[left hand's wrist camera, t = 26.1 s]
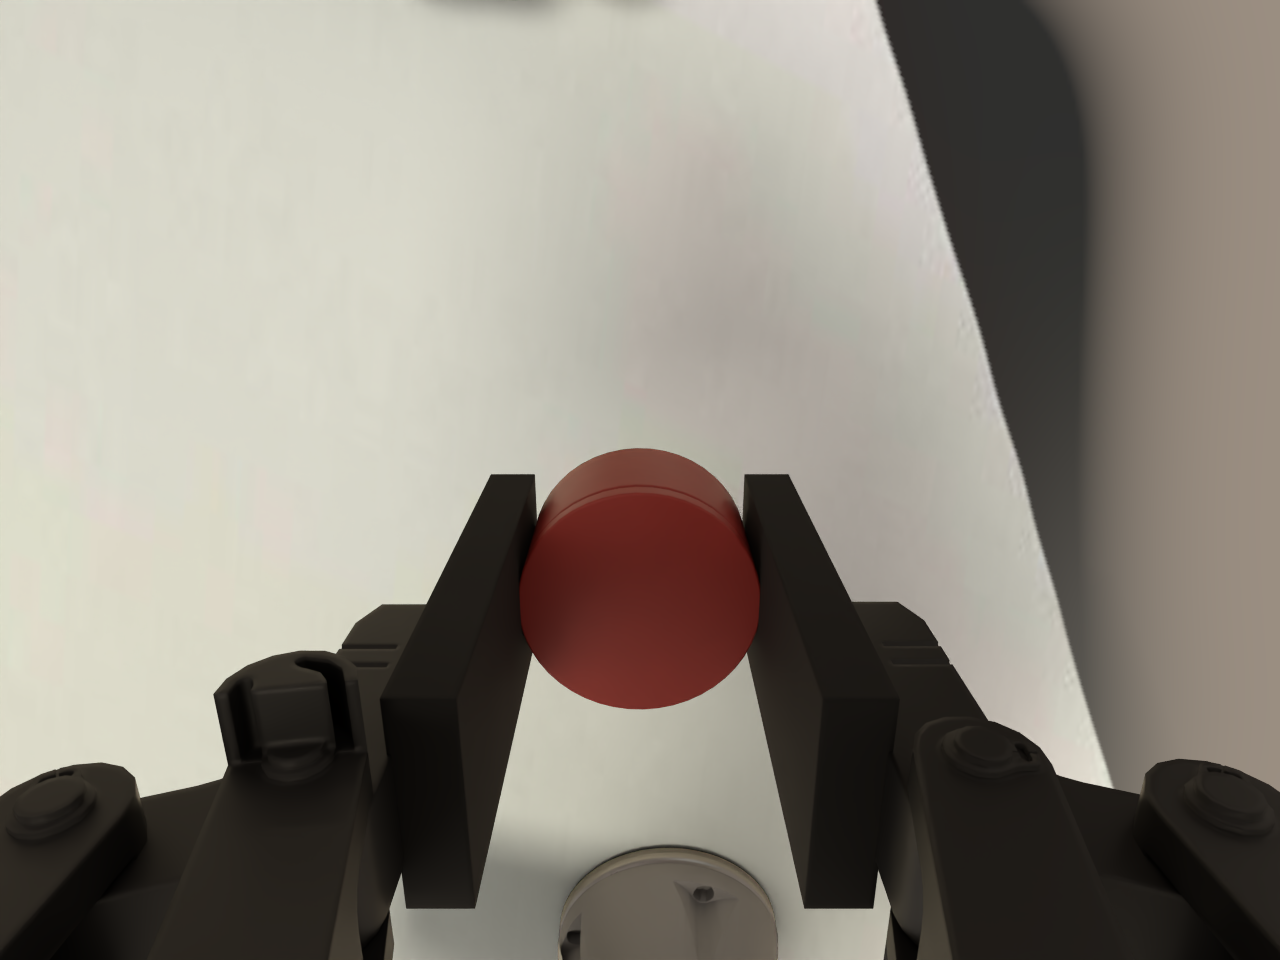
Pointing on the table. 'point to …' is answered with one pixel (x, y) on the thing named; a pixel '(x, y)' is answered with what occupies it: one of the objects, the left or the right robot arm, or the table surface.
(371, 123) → the table surface
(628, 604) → the cap
